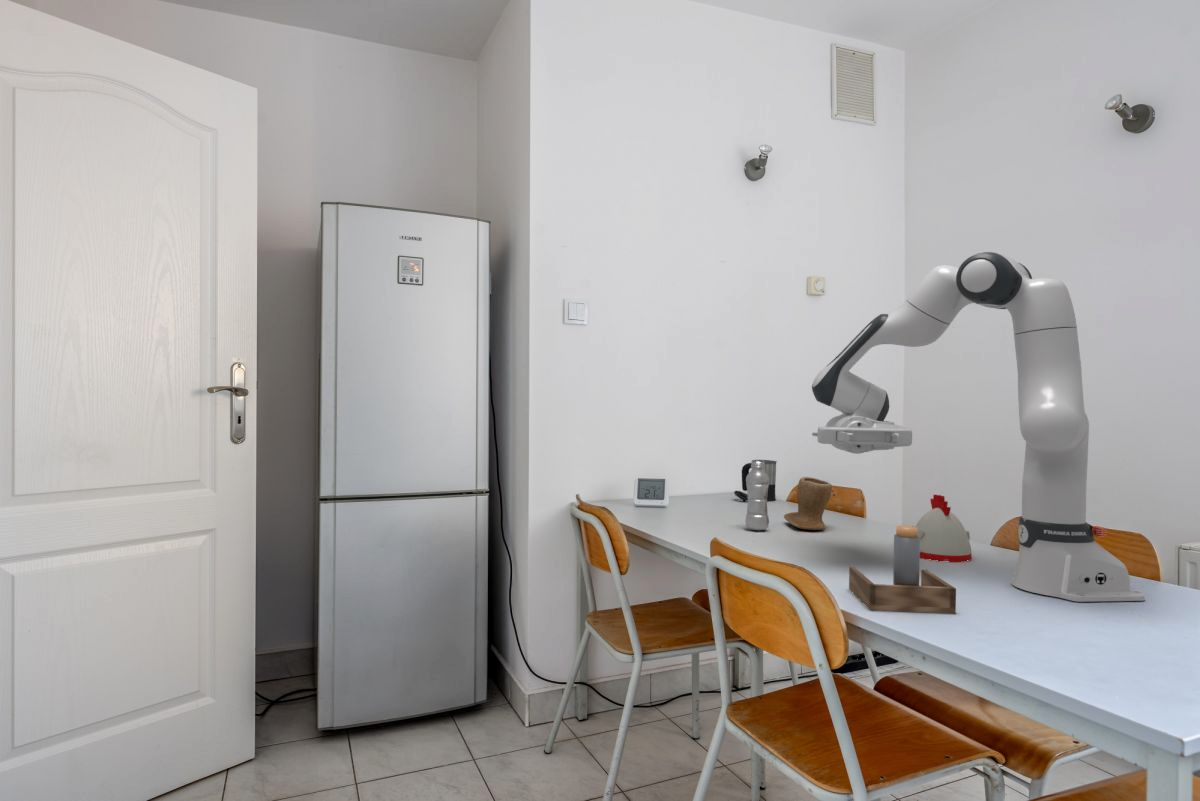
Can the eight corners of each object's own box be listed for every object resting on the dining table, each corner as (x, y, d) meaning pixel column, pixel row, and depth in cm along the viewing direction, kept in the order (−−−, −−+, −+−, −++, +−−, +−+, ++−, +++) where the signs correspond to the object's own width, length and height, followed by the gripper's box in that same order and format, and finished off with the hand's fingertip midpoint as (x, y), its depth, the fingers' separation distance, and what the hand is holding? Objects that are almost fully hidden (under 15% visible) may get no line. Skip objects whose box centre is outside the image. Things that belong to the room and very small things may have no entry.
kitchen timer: (952, 550, 180) (953, 491, 180) (983, 562, 167) (984, 499, 167) (899, 549, 180) (900, 491, 180) (925, 562, 166) (926, 499, 166)
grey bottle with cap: (913, 597, 132) (914, 525, 132) (922, 604, 128) (923, 530, 128) (889, 597, 132) (890, 525, 132) (897, 603, 128) (898, 529, 128)
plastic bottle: (769, 533, 199) (770, 462, 199) (745, 531, 200) (746, 461, 200) (768, 529, 205) (769, 460, 205) (744, 527, 207) (746, 459, 207)
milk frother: (778, 499, 267) (779, 460, 267) (770, 504, 253) (770, 463, 253) (741, 496, 273) (742, 458, 273) (731, 501, 259) (731, 461, 259)
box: (926, 592, 140) (926, 569, 140) (955, 613, 126) (956, 588, 126) (849, 589, 141) (849, 566, 141) (869, 610, 127) (870, 585, 127)
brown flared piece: (835, 533, 201) (836, 480, 200) (793, 532, 201) (794, 480, 201) (821, 523, 216) (822, 475, 216) (782, 522, 216) (783, 474, 216)
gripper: (810, 420, 166) (824, 422, 152) (899, 422, 164) (921, 424, 151) (810, 446, 166) (823, 451, 152) (899, 448, 164) (921, 453, 151)
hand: (873, 437), depth 151 cm, fingers open, 8 cm apart
